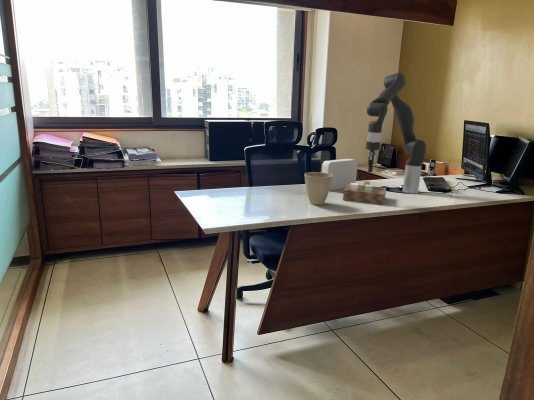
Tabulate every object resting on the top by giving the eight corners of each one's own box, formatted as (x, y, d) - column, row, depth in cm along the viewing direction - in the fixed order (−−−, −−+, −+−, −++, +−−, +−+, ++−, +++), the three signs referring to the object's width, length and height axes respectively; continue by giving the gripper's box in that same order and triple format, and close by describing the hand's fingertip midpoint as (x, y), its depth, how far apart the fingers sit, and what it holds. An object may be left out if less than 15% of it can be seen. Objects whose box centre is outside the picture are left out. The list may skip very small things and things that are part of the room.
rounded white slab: (346, 184, 257) (348, 157, 253) (355, 186, 252) (357, 159, 247) (317, 188, 240) (319, 160, 235) (326, 191, 234) (328, 162, 229)
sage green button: (372, 193, 213) (372, 185, 212) (371, 195, 210) (372, 186, 209) (364, 192, 215) (365, 184, 213) (364, 194, 211) (364, 185, 210)
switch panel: (385, 197, 222) (386, 187, 221) (383, 205, 206) (384, 193, 204) (347, 193, 229) (348, 183, 228) (342, 200, 213) (343, 189, 211)
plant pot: (324, 199, 213) (326, 171, 209) (334, 206, 199) (337, 177, 195) (299, 200, 209) (301, 171, 205) (307, 207, 195) (309, 177, 191)
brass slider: (369, 186, 221) (370, 181, 220) (369, 187, 218) (369, 182, 217) (364, 186, 222) (364, 180, 221) (363, 187, 219) (364, 181, 218)
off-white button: (357, 192, 216) (358, 183, 215) (356, 193, 212) (357, 184, 211) (350, 191, 217) (351, 182, 216) (349, 192, 214) (350, 184, 212)
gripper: (367, 139, 212) (364, 169, 216) (365, 141, 200) (361, 173, 204) (381, 140, 210) (378, 171, 214) (379, 142, 198) (376, 174, 202)
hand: (370, 172), depth 209 cm, fingers closed
